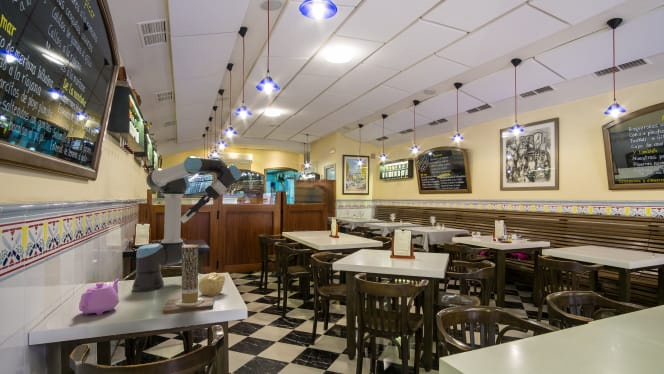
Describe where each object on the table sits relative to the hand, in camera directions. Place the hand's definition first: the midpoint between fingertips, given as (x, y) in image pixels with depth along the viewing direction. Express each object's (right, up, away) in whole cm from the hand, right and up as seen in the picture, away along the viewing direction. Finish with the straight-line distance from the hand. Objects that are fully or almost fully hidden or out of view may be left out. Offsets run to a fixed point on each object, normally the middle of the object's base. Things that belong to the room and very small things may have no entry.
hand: (182, 220), depth 166 cm
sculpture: (+12, -38, +6) cm, 40 cm away
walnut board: (+9, -37, -13) cm, 40 cm away
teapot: (-27, -37, -19) cm, 50 cm away
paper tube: (+9, -35, -13) cm, 39 cm away
